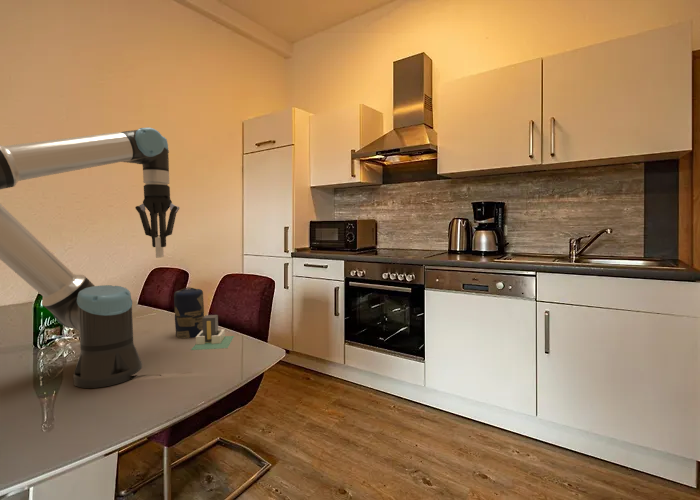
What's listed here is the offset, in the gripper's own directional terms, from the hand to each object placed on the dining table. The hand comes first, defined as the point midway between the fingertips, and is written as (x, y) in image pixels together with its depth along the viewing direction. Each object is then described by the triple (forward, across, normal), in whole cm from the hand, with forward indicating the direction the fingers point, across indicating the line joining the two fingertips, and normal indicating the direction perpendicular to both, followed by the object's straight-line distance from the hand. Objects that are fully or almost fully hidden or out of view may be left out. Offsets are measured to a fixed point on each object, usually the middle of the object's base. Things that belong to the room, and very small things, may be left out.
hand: (159, 257), depth 121 cm
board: (+29, -17, +4) cm, 34 cm away
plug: (+28, -16, +1) cm, 32 cm away
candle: (+30, -7, -7) cm, 31 cm away
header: (+28, -16, +2) cm, 32 cm away
